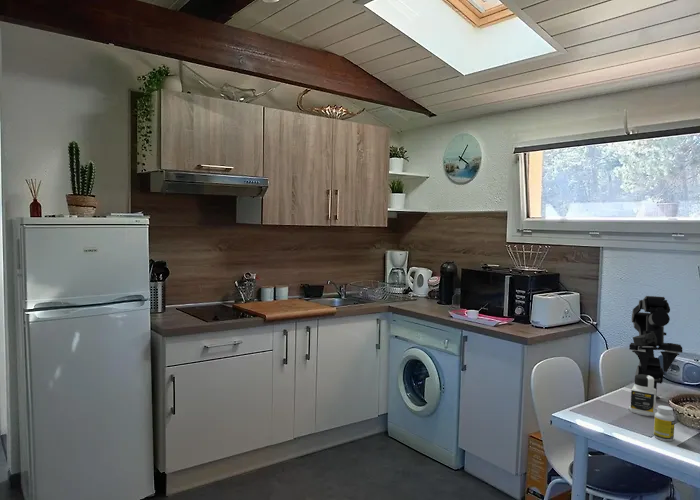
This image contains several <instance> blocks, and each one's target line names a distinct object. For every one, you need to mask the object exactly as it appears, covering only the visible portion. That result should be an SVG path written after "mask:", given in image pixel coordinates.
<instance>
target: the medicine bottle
mask: <svg viewBox="0 0 700 500" xmlns="http://www.w3.org/2000/svg"><path fill="white" fill-rule="evenodd" d="M630 392H631V393H630V394H631V395H630V404H631V407H630V408H631V409H635V410H640V411H645V412H650V413H653V412H654V410H655V409H656V402H657V399H656V395H657V393H656V389H655V388H654V378H653V377H651V376H649V375H644V374H638V375H634V385H633V386H632V388H631V391H630Z"/></svg>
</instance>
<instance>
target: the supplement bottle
mask: <svg viewBox="0 0 700 500" xmlns="http://www.w3.org/2000/svg"><path fill="white" fill-rule="evenodd" d="M673 410H674V409H673V407H671V406H668V405H657V413H655V416H654V423H653V437H654V439H657V440H660V441H663V442H672V441H674V435H675V420H676V419H675V415H673V413H674V412H673Z"/></svg>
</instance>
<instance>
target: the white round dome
mask: <svg viewBox="0 0 700 500" xmlns="http://www.w3.org/2000/svg"><path fill="white" fill-rule="evenodd" d="M630 407H631V403H630V404H628V411H629V412H631V413H632V414H633V413H634V414H635V415H638V416H639V415H640V416H644V417H655V413H657V412H658V408H655V410H654V412H653V413H650V412H645V411H640V410H635V409H631V408H630Z"/></svg>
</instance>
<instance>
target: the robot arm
mask: <svg viewBox="0 0 700 500" xmlns="http://www.w3.org/2000/svg"><path fill="white" fill-rule="evenodd" d="M641 310H643V311H644V312H641ZM670 312H671V308H670V305H669V302H668V300H667V299H666V297H665V296H654V295H653V296H652V295H645V296H644V298H643V299H641V300H639V301H638V303H637V305H636V306H634V307H633V308H632V312H631V323H633V328H634V329H635V330H636V331H637V332H638V335H636V336H633V337H632V341H633V342H630V344H629V351H631V352H632V353H634V354H635V355H636V356H637V358H638V360H639V363H638V365H637V366H636V369H635V373H634V374H635V375H638V374H644V375H649V376H651V377H653V378H654V388H655V389H656V400H659V399H660V400H661V397H660V396H658V395H657V392H658V391H657V389H658V388H657V386H658V385H657V384H660V385H661V384H662V383H663V381H664V377H665V373H667V372H668V371H669V369H670V368H671V365H672V364H673V362H674V360H675V359H676V358H677V357H678V356H679V355H680V353H683V346H682V345H681V344H678V343H672V342H665V341H664V340H665V339H664V337H665V336H667V332H665V326H667V325H668V324H669V323H670V319H671V318H670V316H669V314H670ZM654 351H660V353H661V355H662V366H663V367H662V366H661V361H660V359H659V358H658V357H655V352H654ZM635 375H634V376H635ZM662 385H663V384H662Z"/></svg>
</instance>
